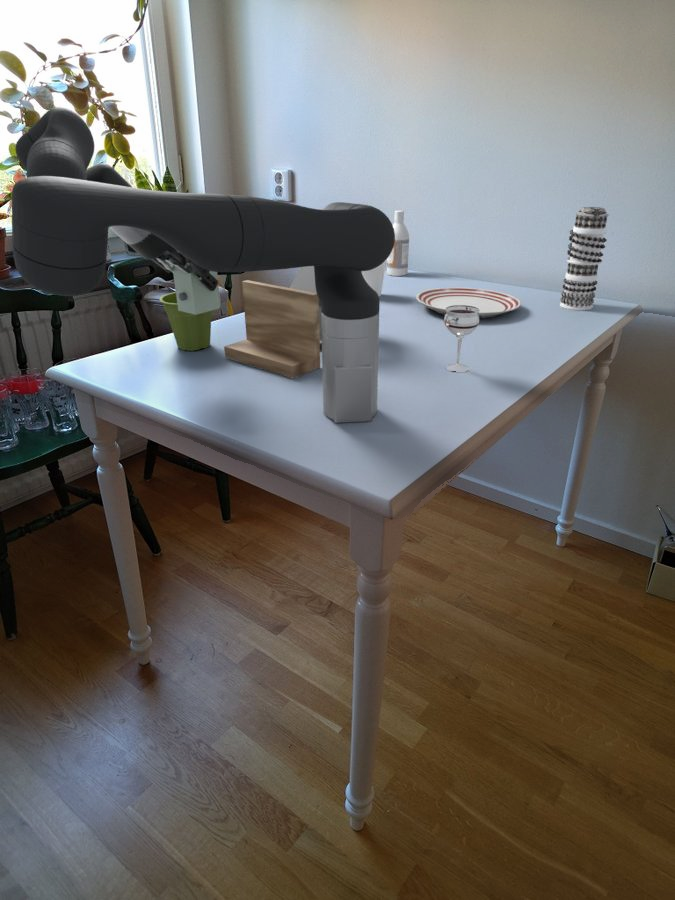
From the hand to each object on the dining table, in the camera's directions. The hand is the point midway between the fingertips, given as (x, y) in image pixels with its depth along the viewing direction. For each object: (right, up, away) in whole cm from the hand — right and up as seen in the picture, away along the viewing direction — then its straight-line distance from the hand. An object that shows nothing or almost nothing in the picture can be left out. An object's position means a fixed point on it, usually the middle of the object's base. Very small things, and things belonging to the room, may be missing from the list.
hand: (205, 284), depth 113 cm
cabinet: (-1, -4, +1) cm, 5 cm away
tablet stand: (+23, -5, +29) cm, 38 cm away
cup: (+34, +14, +65) cm, 75 cm away
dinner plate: (+60, +7, +51) cm, 79 cm away
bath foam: (+45, +28, +92) cm, 106 cm away
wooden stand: (+11, -12, +14) cm, 22 cm away
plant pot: (-8, -8, +24) cm, 27 cm away
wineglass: (+49, -14, +10) cm, 52 cm away
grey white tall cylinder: (+90, +8, +53) cm, 104 cm away
